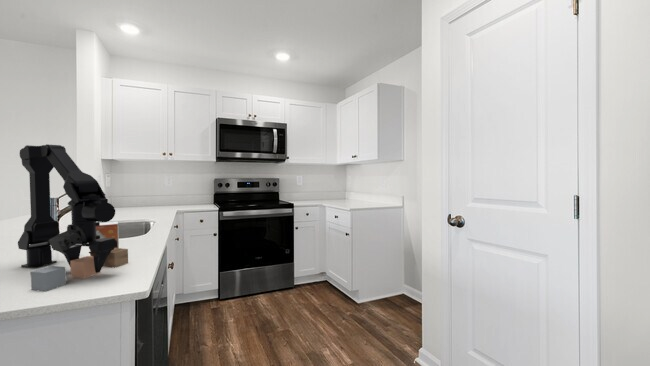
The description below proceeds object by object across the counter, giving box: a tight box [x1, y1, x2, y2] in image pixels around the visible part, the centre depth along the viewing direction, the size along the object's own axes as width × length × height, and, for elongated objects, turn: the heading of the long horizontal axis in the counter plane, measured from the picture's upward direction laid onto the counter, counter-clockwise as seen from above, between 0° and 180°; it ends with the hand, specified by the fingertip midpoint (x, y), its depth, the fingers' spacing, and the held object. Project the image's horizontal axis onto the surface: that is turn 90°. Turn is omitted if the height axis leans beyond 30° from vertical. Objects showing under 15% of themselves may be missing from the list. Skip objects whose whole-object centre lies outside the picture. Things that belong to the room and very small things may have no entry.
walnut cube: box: [103, 247, 129, 269], centre depth 102 cm, size 5×5×5 cm
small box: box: [89, 221, 120, 256], centre depth 108 cm, size 8×6×13 cm
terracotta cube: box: [70, 255, 101, 279], centre depth 92 cm, size 5×5×5 cm
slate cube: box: [30, 265, 67, 293], centre depth 82 cm, size 5×5×5 cm
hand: (85, 271), depth 92 cm, fingers open, 9 cm apart
